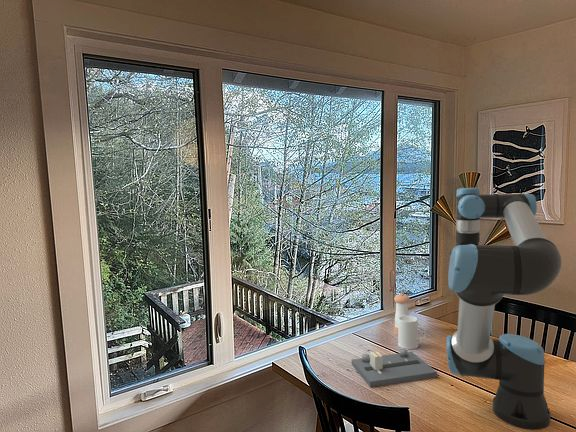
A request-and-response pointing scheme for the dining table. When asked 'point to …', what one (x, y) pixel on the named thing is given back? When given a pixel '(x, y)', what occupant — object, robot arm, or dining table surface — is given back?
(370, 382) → the console board
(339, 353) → the dining table surface
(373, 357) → the fader tab
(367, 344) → the dining table surface
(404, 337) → the mug
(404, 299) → the pepper shaker
